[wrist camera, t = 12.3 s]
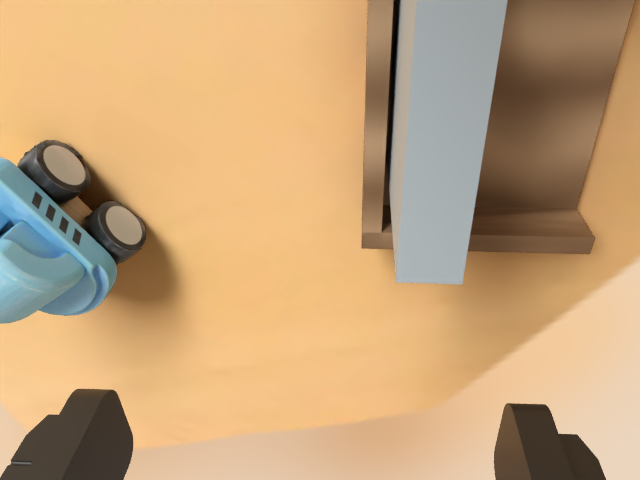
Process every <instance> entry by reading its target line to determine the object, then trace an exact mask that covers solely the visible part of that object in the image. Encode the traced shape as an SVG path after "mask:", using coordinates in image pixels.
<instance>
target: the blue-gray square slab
mask: <svg viewBox="0 0 640 480" xmlns="http://www.w3.org/2000/svg"><path fill="white" fill-rule="evenodd" d="M507 1H508V0H397V8H396V26H395V44H394V62H393V80H392V99H391V117H390V135H389V153H388V179H389V193H390V207H391V221H392V235H393V249H394V263H395V277H396V282H400V283H434V284H462V283H463V276H464V270H465V264H466V258H467V251H468V245H469V239H470V233H471V226H472V220H473V214H474V208H475V201H476V195H477V189H478V183H479V176H480V170H481V164H482V158H483V151H484V145H485V139H486V133H487V126H488V120H489V114H490V108H491V101H492V95H493V89H494V83H495V76H496V70H497V64H498V58H499V51H500V45H501V39H502V33H503V26H504V20H505V14H506V8H507Z"/></svg>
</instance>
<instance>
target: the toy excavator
mask: <svg viewBox="0 0 640 480" xmlns="http://www.w3.org/2000/svg"><path fill="white" fill-rule="evenodd" d="M35 146H36V145H35ZM35 146H34V148H32V149H31V150H30V151H28V152H26V153H25V154H24V157H23V158H21V160H20V161H19V163H18V166H16V165H14V164H13V163H12V162H10V161H9V160H7V159H5V158H0V324H1V323H11V322H15V321H18V320H21V319H24V318H26V317H28V316H30V315H31V314H33V313H34V312H36V311H37V310H39V311H42V312H45V313H49V314H53V315H64V316H68V315H79V314H83V313H86V312H89V311H91V310H93V309H94V308H96V307H97V306H98V305H100V303H101V302H102V301H103V300H104V299H105V297H106V296H107V294H108V293H109V291H110V290H111V288H112V287H113V285H114V283H115V280H116V277H117V267H116V266H117V265H118V263H121V262H124V261H125V260H127V259H128V258H129V257H131V256H132V255H134V254H135V253H136V252H138V251H139V250H140V249H141V248H140V247H141V246H142V245H143V244H144V242H145V239H146V232H145V227H144V225H143V223H142V221H141V219H140V218H139V217H136V216H135V215H134V214H133V213H132V212H130V211H129V210H128V209H126V208H125V207H124V206H123V205H121V203H119V202H115V201H107V202H105V203H103V204H102V205H100V206H99V207H98V208H97V209H96V210H95V211H92V210H91V209H90V208H89V207H88V206H87V205H86V204H84V202H83V201H82V200H81V199H80V198H79V197H78V195H79V194H80V193H82V192H83V191H84V190H85V189H86V188H87V187H88V186H89V185H90V182H91V176H90V173H89V170H88V166H87V165H85V166H83V165H82V163H81V162H80V160H79V158H77V156H79V157H81V155H80V154H79V153H78V152H77V151H75V150H74V149H73V148H70V147H69V146H68V145H67V144H65V143H62V142H59V141H56V140H46V141H43V142H41V143H39V144H38V145H37V146H36V147H35ZM76 155H77V156H76Z"/></svg>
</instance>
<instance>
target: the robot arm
mask: <svg viewBox="0 0 640 480" xmlns="http://www.w3.org/2000/svg"><path fill="white" fill-rule="evenodd" d="M132 451H133V435H132V432H131V429H130V426H129V424H128V421H127V418H126V416H125V413H124V410H123V408H122V405H121V402H120V400H119V397H118V395H117V393H116V391H114V390H102V389H77V390H75V391H74V392H73V393H72V394H71V395H70V397H69V398H68V400H67V402H66V404H65V405H64V407H63V409H62V411H61V412H60V414H59V415H47V416H46V417H45V418H44V419H43V420H42V421H41V422H40V423H39V424H38V425H37V426H36V427H35V428H34V429H33V430H31V431H30V432H29V433H28V434H27V435H26V437H25V438H24V440H23V442H22V443H21V445H20V446H19V448H18V450H17V451H16V453H15V455H14V456H13V458H12V459H11V464H10V465H8V466H7V468H6V469H5V471H4V473H3V474H2V476H1V478H0V480H123V479H124V476H125V474H126V472H127V469H128V467H129V464H130V460H131V457H132ZM494 469H495V477H496V480H606V478H605V476H604V473H603V471H602V468H601V466H600V463H599V461H598V459H597V458H596V456H595V455H594V454H593V453H592V452H591V450H590V449H589V448H588V447H587V446H586V445H585V443H584V442H583V441H582V440H581V439H580V438H579V436H578V435H572V434H558V431H557V429H556V426H555V423H554V420H553V417H552V414H551V412H550V410H549V408H548V407H547V406H546V405H543V404H510V403H507V404H506V405H505V407H504V411H503V415H502V420H501V424H500V428H499V433H498V437H497V442H496V446H495V452H494Z"/></svg>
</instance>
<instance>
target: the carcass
mask: <svg viewBox="0 0 640 480" xmlns="http://www.w3.org/2000/svg"><path fill="white" fill-rule="evenodd" d="M634 1H635V0H508V1H507V8H506V14H505V20H504V26H503V33H502V39H501V45H500V51H499V58H498V64H497V70H496V76H495V83H494V89H493V95H492V101H491V108H490V114H489V120H488V126H487V133H486V139H485V145H484V151H483V158H482V164H481V170H480V176H479V183H478V189H477V195H476V201H475V208H474V214H473V220H472V226H471V233H470V239H469V245H468V251H487V252H527V253H566V254H590V253H591V249H592V246H593V243H594V240H595V237H594V235H593V234H592V232H591V231H590V229H589V227H588V226H587V224H586V223H585V221H584V220H583V218H582V217H581V215H580V213H579V212H578V210H577V209H576V208H577V205H578V201H579V197H580V194H581V190H582V187H583V183H584V180H585V176H586V173H587V169H588V165H589V162H590V158H591V155H592V151H593V148H594V144H595V140H596V137H597V133H598V130H599V126H600V123H601V119H602V115H603V112H604V108H605V105H606V101H607V98H608V94H609V90H610V87H611V83H612V80H613V76H614V73H615V69H616V65H617V62H618V58H619V55H620V51H621V48H622V44H623V41H624V37H625V33H626V30H627V26H628V23H629V19H630V16H631V12H632V8H633V5H634ZM396 8H397V0H368V20H367V56H366V92H365V128H364V164H363V200H362V248H369V249H393V235H392V221H391V207H390V193H389V179H388V153H389V135H390V117H391V99H392V80H393V62H394V44H395V26H396Z"/></svg>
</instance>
